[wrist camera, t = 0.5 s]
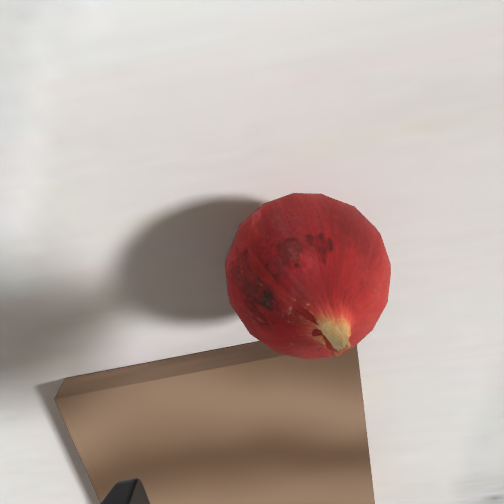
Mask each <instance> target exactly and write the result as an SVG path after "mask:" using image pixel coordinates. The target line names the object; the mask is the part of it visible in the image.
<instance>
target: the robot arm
mask: <svg viewBox="0 0 504 504" xmlns="http://www.w3.org/2000/svg"><path fill="white" fill-rule="evenodd" d="M100 504H150V502H149V499H148V497H147V494H146V491H145V489H144V486H143V484H142V482H141V480H140V479H139V478H132V479H126V480H121V481H118V482H117V483H116V484H115V485H114V486H113V487H112V488H111V490H110V491H109V492H108V494H107V495H106V496H105V498H104V499H103V500H102V502H101V503H100Z"/></svg>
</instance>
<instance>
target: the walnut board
mask: <svg viewBox="0 0 504 504" xmlns="http://www.w3.org/2000/svg"><path fill="white" fill-rule="evenodd" d="M54 400H55V402H56V404H57V407H58V409H59V411H60V413H61V416H62V418H63V420H64V422H65V424H66V427H67V429H68V431H69V433H70V436H71V438H72V440H73V442H74V445H75V447H76V449H77V451H78V453H79V456H80V458H81V460H82V462H83V465H84V467H85V469H86V471H87V474H88V476H89V478H90V480H91V482H92V485H93V487H94V489H95V491H96V494H97V496H98V498H99V500H100V503H101V502H102V500H103V499H104V498H105V496H106V495H107V494H108V492H109V491H110V490H111V488H112V487H113V486H114V485H115V484H116V483H117V482H118V481H121V480H126V479H132V478H139V479H140V480H141V482H142V484H143V486H144V489H145V491H146V494H147V497H148V499H149V502H150V504H375V500H374V492H373V483H372V474H371V465H370V457H369V448H368V439H367V431H366V422H365V413H364V404H363V396H362V387H361V378H360V370H359V361H358V352H357V345H356V346H354V347H353V348H351V349H348V350H347V352H346V353H344V354H342V355H340V356H333V357H331V358H319V359H300V358H296V357H292V356H288V355H283V354H279V353H277V352H275V351H274V350H272V349H271V348H269V347H268V346H267V345H265V344H264V343H262V342H261V341H259V342H254V343H248V344H243V345H238V346H233V347H227V348H222V349H217V350H212V351H206V352H201V353H196V354H191V355H185V356H180V357H175V358H170V359H164V360H159V361H154V362H149V363H143V364H138V365H133V366H128V367H122V368H117V369H112V370H107V371H101V372H96V373H91V374H86V375H80V376H75V377H70V378H66V379H65V380H64V382H63V384H62V386H61V388H60V390H59V391H58V393H57V395H56V397H55V399H54Z"/></svg>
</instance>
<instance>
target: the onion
mask: <svg viewBox="0 0 504 504" xmlns="http://www.w3.org/2000/svg"><path fill="white" fill-rule="evenodd" d="M225 269H226V279H227V289H228V296H229V301H230V304H231V306H232V307H233V309H234V310H235V312H236V313H237V315H238V316H239V318H240V319H241V321H242V322H243V324H244V325H245V327H246V328H247V330H248V331H249V333H250V334H251V335H253V336H254V337H255V338H257V339H258V340H260V341H261V342H262V343H264V344H265V345H267V346H268V347H269V348H271V349H272V350H274V351H275V352H277V353H279V354H283V355H288V356H292V357H296V358H300V359H319V358H331V357H333V356H340V355H342V354H344V353H346V352H347V350H348V349H351V348H353V347H354V346H356V345H357V344H358V343H359V342H360V341H361V340H362V339H363V338H364V337H365V336H366V335H367V334H369V333H370V332H371V331H372V330H373V328H374V326H375V324H376V322H377V321H378V319H379V317H380V315H381V314H382V312H383V310H384V308H385V306H386V304H387V302H388V293H389V284H390V275H391V266H390V261H389V258H388V255H387V252H386V249H385V246H384V243H383V240H382V237H381V235H380V233H379V232H378V230H377V229H376V228H375V227H374V226H373V225H372V224H371V223H370V222H369V221H368V220H367V219H366V218H365V217H364V216H363V215H362V214H361V213H360V212H359V211H358V210H357V209H356V208H355V207H354V206H352V205H349V204H346V203H343V202H341V201H338V200H335V199H332V198H330V197H327V196H325V195H323V194H304V193H292V194H290V195H287V196H284V197H281V198H279V199H276V200H273V201H270V202H267V203H265V204H263V205H262V206H261V207H260V208H259V209H257V210H256V211H255V212H254V213H253V214H252V215H251V216H249V217H248V218H247V219H246V220H245V221H244V222H243V223H241V224H240V226H239V228H238V231H237V233H236V236H235V238H234V241H233V243H232V246H231V248H230V251H229V253H228V256H227V258H226V261H225Z"/></svg>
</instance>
